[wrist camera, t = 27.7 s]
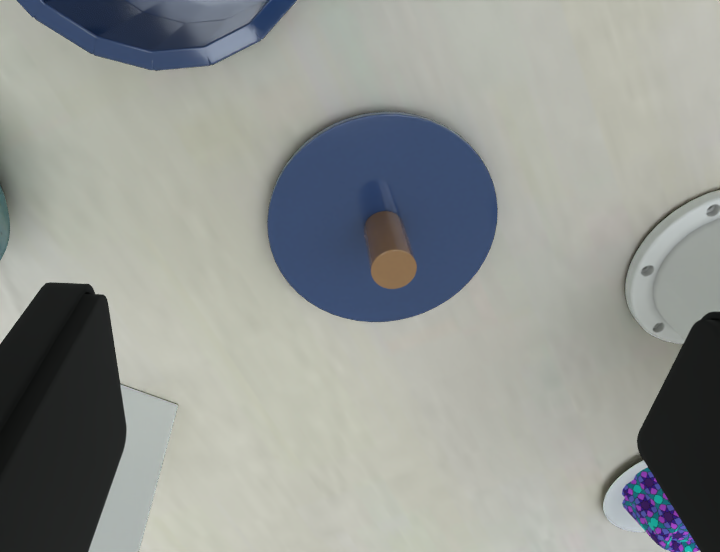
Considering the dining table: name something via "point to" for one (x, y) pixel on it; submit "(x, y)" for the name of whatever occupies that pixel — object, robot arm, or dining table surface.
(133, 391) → the milk
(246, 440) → the dining table surface
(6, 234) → the flower pot
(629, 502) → the pudding
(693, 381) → the robot arm
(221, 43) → the crock
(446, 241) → the lid
